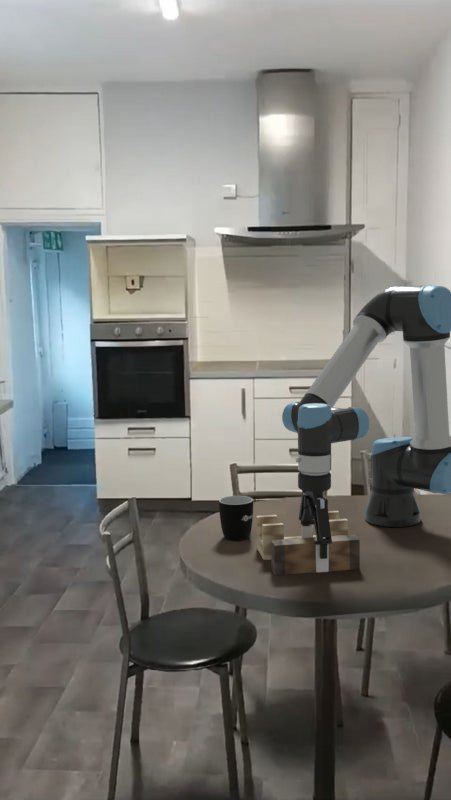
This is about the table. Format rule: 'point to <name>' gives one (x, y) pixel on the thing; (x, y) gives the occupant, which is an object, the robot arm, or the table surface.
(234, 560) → the table surface
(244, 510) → the mug
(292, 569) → the brown rectangular block
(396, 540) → the table surface
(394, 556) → the table surface
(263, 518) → the posts
